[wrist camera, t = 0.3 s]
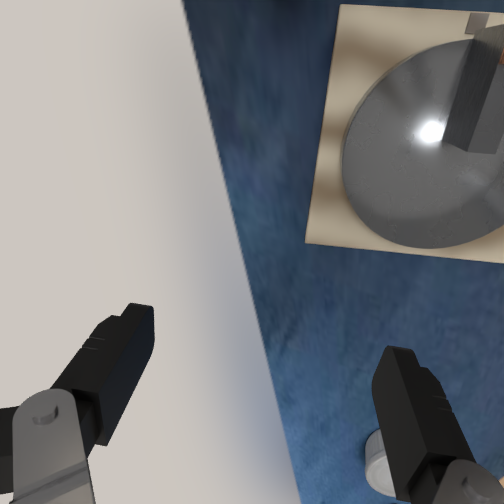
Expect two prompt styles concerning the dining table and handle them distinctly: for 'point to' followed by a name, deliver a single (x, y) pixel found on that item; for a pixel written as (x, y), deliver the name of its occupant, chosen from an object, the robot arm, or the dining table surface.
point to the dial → (431, 145)
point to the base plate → (348, 96)
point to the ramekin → (378, 465)
